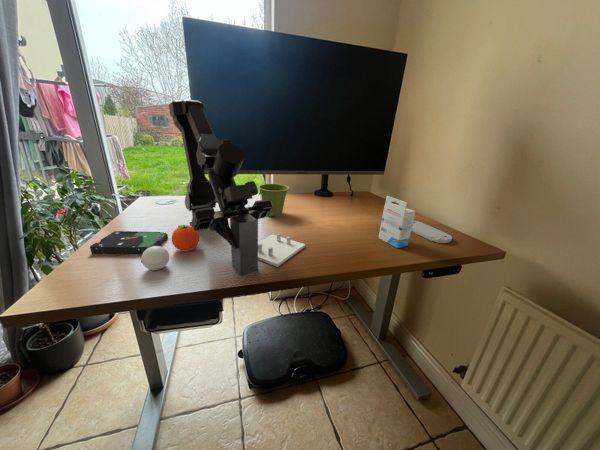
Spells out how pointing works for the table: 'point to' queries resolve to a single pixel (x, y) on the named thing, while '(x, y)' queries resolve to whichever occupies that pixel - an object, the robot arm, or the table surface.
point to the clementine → (185, 238)
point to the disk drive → (128, 242)
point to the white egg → (155, 258)
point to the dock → (277, 249)
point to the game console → (430, 233)
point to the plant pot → (274, 197)
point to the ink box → (396, 223)
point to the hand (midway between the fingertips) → (246, 245)
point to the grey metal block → (245, 243)
